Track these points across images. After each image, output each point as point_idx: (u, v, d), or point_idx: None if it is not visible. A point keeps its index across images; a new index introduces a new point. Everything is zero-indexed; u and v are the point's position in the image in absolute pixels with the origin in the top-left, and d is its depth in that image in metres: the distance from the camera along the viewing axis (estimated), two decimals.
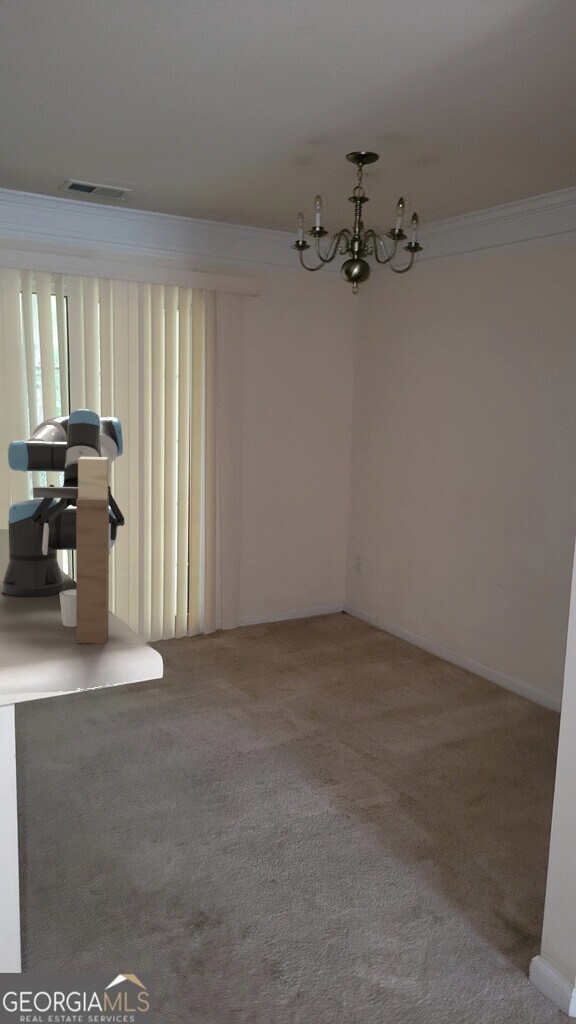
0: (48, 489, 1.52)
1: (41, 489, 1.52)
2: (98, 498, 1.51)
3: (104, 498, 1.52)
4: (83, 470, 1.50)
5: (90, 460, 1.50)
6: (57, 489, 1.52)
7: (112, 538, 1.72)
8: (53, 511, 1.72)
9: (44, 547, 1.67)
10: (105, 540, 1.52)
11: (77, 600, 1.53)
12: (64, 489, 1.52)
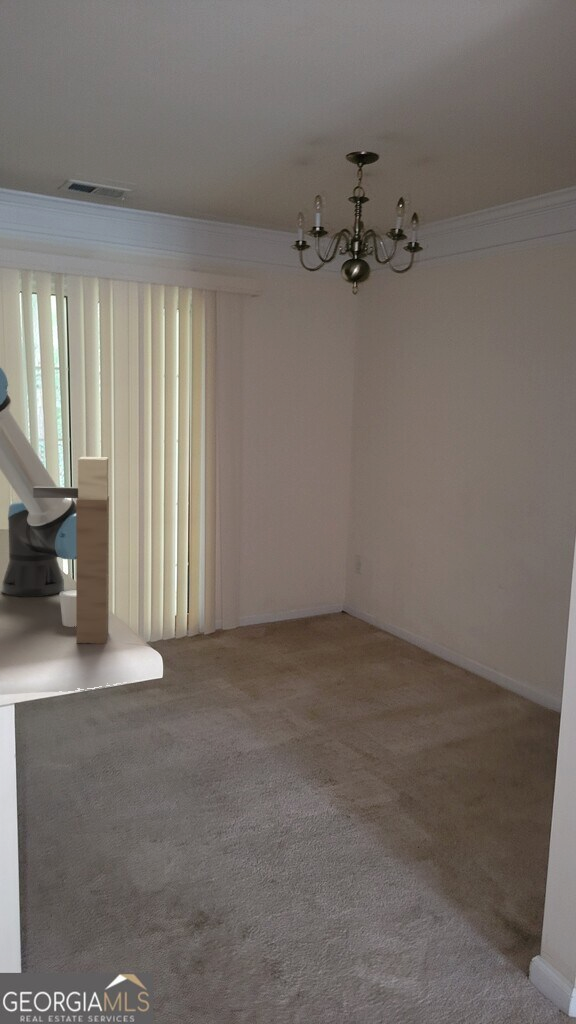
0: (48, 489, 1.52)
1: (41, 489, 1.52)
2: (98, 498, 1.51)
3: (104, 498, 1.52)
4: (83, 470, 1.50)
5: (90, 460, 1.50)
6: (57, 489, 1.52)
7: None
8: None
9: None
10: (105, 540, 1.52)
11: (77, 600, 1.53)
12: (64, 489, 1.52)
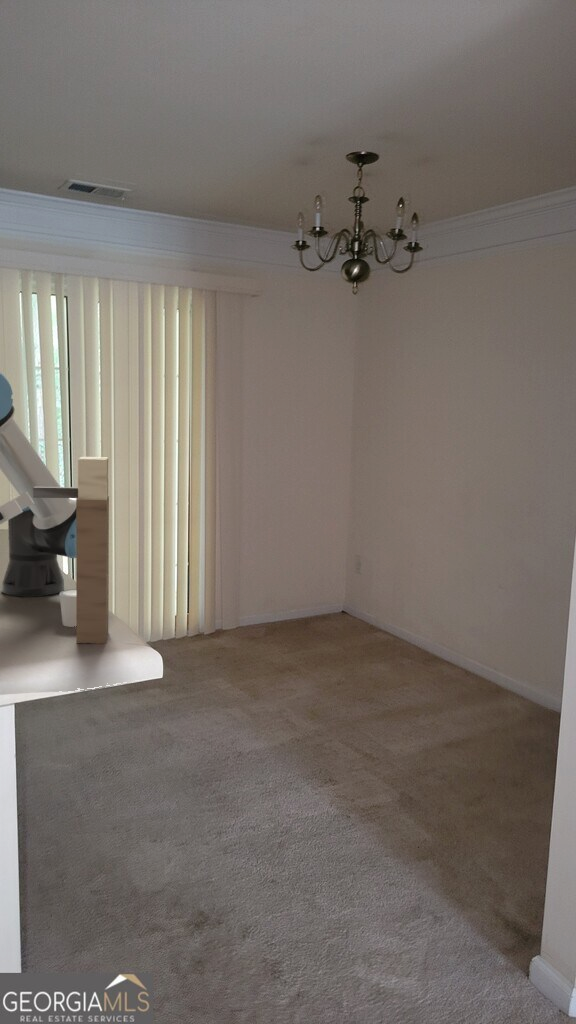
0: (48, 489, 1.52)
1: (41, 489, 1.52)
2: (98, 498, 1.51)
3: (104, 498, 1.52)
4: (83, 470, 1.50)
5: (90, 460, 1.50)
6: (57, 489, 1.52)
7: (2, 515, 1.44)
8: None
9: (31, 504, 1.59)
10: (105, 540, 1.52)
11: (77, 600, 1.53)
12: (64, 489, 1.52)
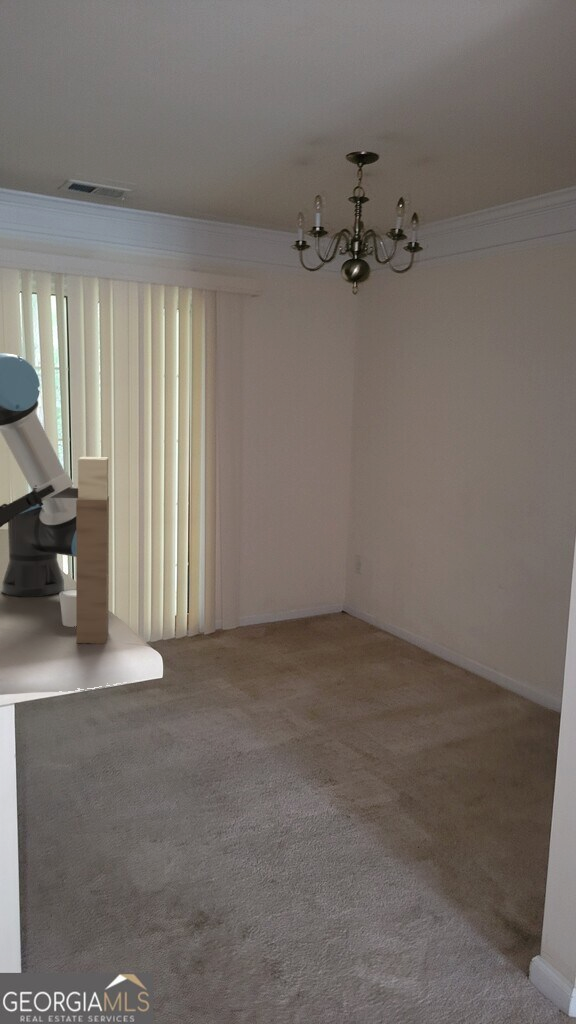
0: None
1: None
2: (98, 498, 1.51)
3: (104, 498, 1.52)
4: (83, 470, 1.50)
5: (90, 460, 1.50)
6: None
7: (53, 488, 1.51)
8: None
9: None
10: (105, 540, 1.52)
11: (77, 600, 1.53)
12: None
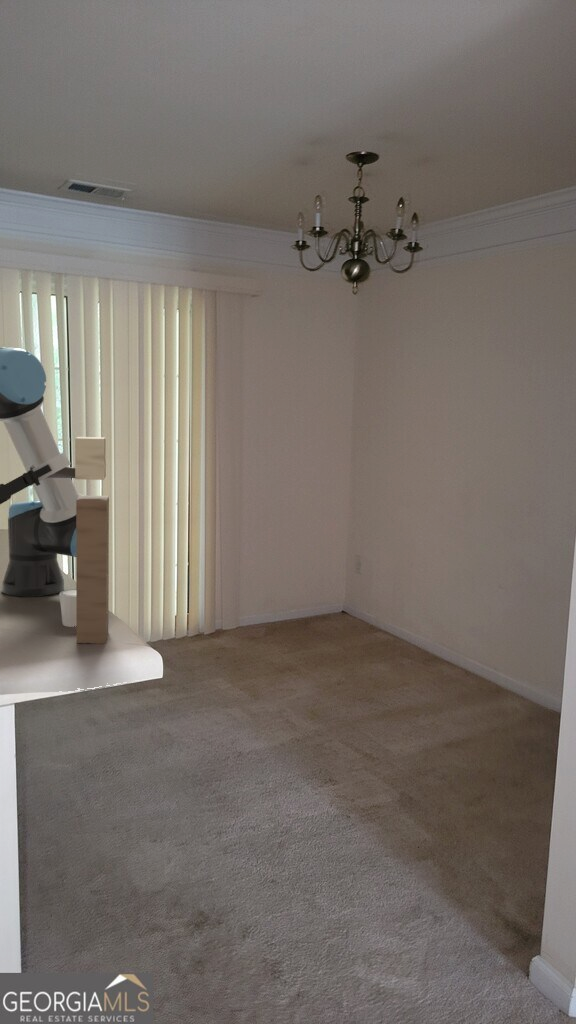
0: None
1: None
2: (95, 478, 1.51)
3: (101, 478, 1.51)
4: (80, 449, 1.50)
5: (87, 439, 1.50)
6: None
7: (50, 467, 1.50)
8: None
9: None
10: (105, 540, 1.52)
11: (77, 600, 1.53)
12: (61, 469, 1.52)
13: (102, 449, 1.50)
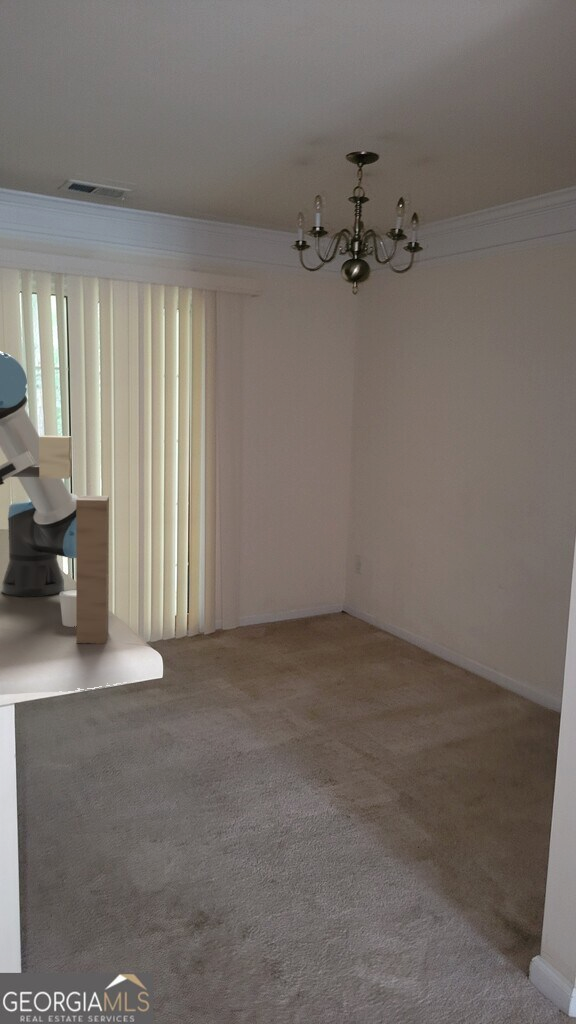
0: None
1: None
2: (60, 477, 1.49)
3: (66, 477, 1.50)
4: (44, 448, 1.48)
5: (51, 438, 1.48)
6: None
7: (14, 466, 1.49)
8: None
9: (33, 464, 1.53)
10: (105, 540, 1.52)
11: (77, 600, 1.53)
12: (25, 468, 1.51)
13: (66, 448, 1.49)
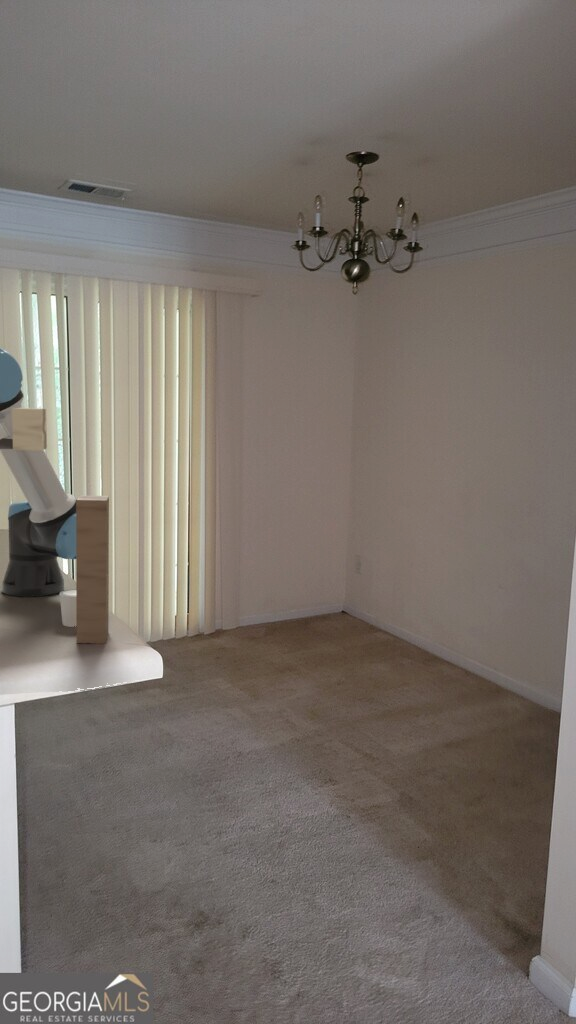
0: None
1: None
2: (33, 448, 1.49)
3: (40, 448, 1.49)
4: (17, 419, 1.48)
5: (24, 409, 1.48)
6: None
7: None
8: None
9: (7, 436, 1.52)
10: (105, 540, 1.52)
11: (77, 600, 1.53)
12: None
13: (40, 419, 1.48)
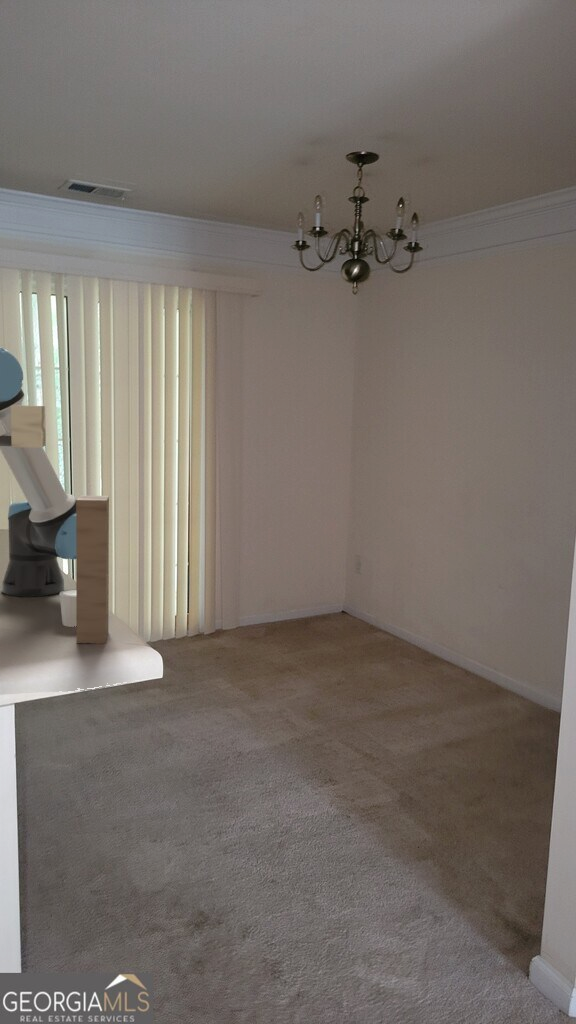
0: None
1: None
2: (32, 445, 1.49)
3: (38, 446, 1.49)
4: (16, 416, 1.48)
5: (23, 406, 1.48)
6: None
7: None
8: None
9: (6, 433, 1.52)
10: (105, 540, 1.52)
11: (77, 600, 1.53)
12: None
13: (39, 416, 1.48)
